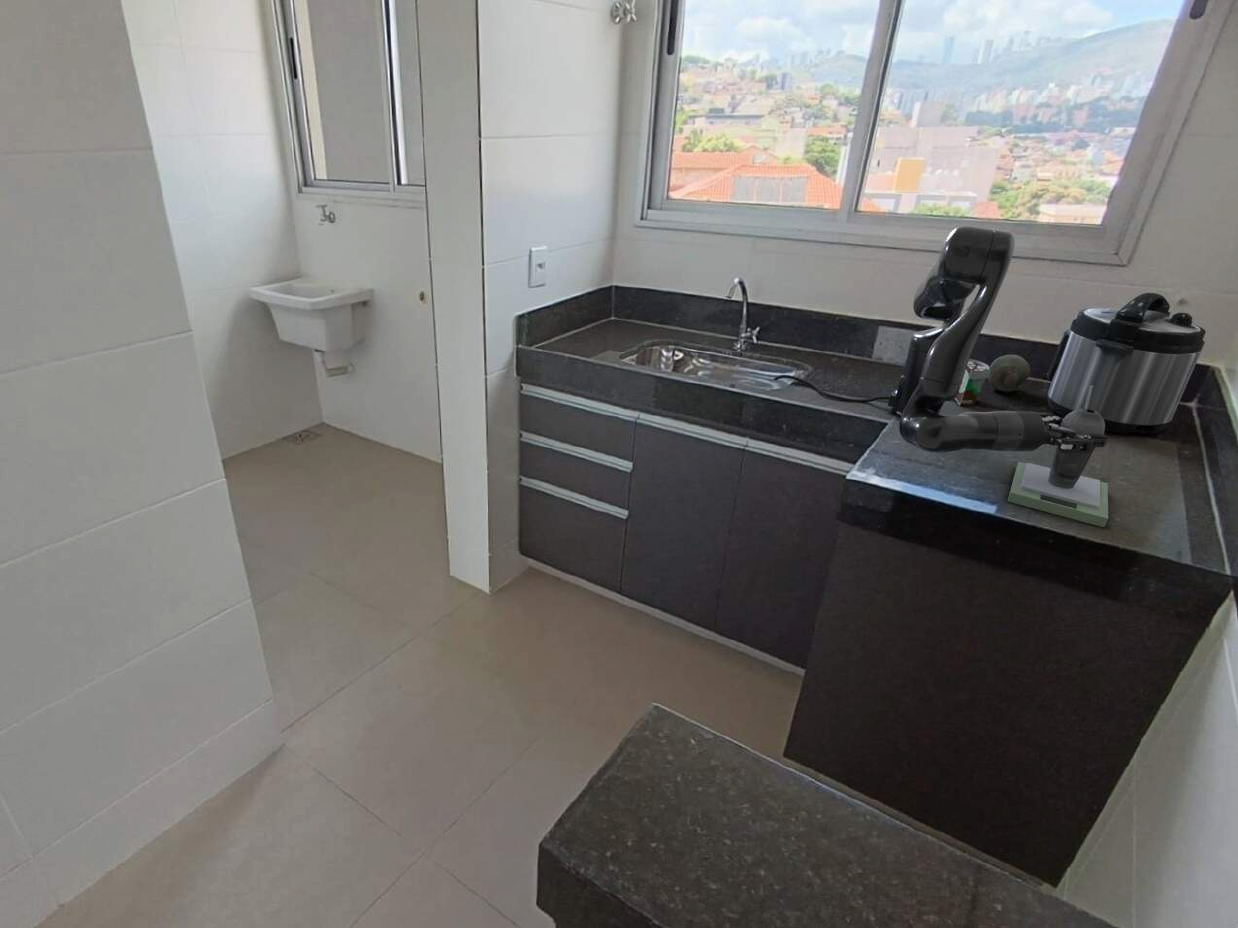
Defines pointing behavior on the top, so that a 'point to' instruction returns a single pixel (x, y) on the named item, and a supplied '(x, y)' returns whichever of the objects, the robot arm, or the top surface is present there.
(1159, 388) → the pressure cooker
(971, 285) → the robot arm
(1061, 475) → the beverage cup
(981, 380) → the food container
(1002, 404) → the top surface
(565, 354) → the top surface
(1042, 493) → the kitchen scale
